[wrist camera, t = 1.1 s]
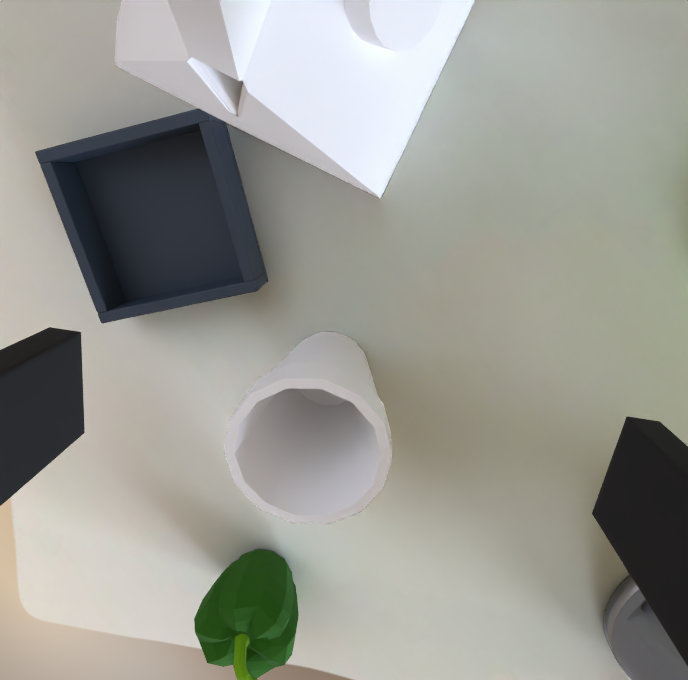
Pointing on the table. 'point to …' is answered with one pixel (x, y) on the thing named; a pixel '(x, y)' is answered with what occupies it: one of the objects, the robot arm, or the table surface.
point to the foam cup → (312, 434)
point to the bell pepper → (250, 615)
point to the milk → (300, 70)
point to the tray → (156, 215)
